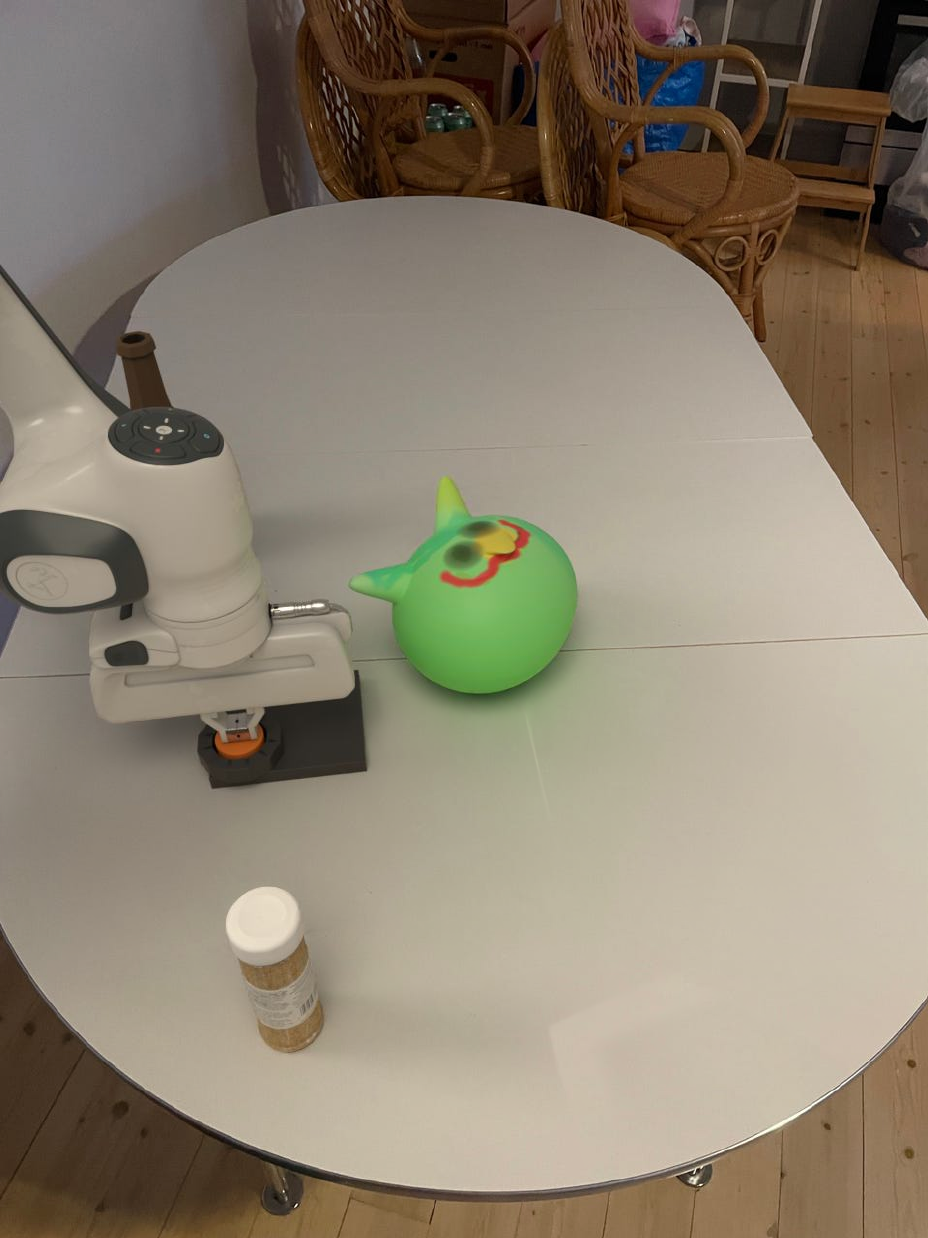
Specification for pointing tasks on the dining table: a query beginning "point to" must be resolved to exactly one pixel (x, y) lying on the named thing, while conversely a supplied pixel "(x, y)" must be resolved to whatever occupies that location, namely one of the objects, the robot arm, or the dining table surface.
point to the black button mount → (294, 743)
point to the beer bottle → (141, 371)
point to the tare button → (239, 746)
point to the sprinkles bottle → (276, 966)
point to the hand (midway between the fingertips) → (240, 735)
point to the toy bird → (478, 598)
